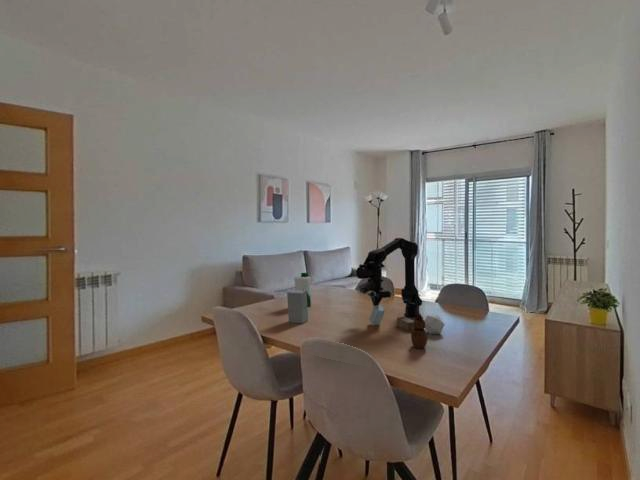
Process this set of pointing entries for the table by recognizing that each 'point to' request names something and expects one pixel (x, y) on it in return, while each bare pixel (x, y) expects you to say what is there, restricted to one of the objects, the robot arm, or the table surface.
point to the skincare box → (297, 306)
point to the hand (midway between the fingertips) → (375, 308)
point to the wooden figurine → (419, 332)
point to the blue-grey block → (377, 315)
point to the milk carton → (303, 285)
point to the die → (433, 324)
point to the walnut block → (405, 323)
